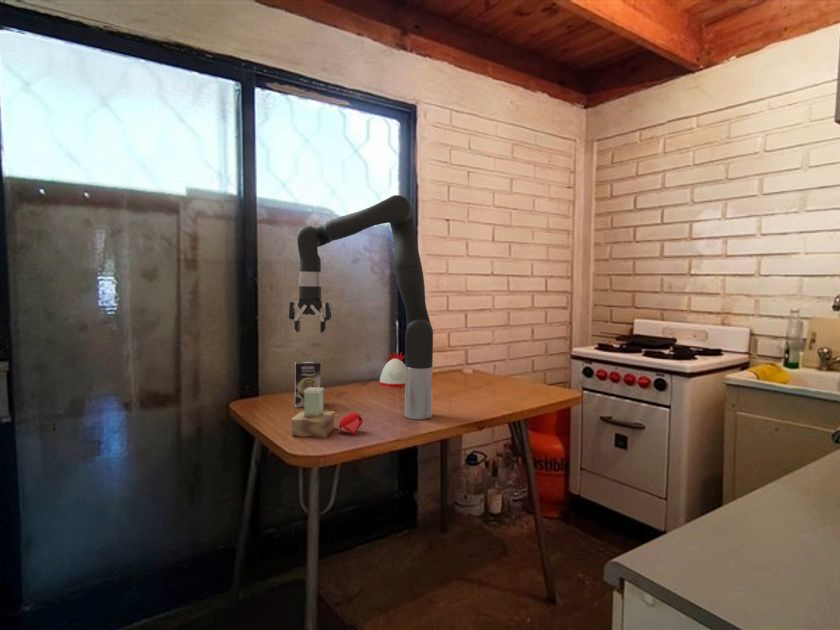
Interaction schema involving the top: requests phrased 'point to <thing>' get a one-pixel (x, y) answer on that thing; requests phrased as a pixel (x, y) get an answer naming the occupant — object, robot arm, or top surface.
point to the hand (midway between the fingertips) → (310, 332)
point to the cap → (351, 423)
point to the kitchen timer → (393, 372)
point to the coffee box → (305, 379)
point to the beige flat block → (313, 424)
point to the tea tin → (313, 402)
